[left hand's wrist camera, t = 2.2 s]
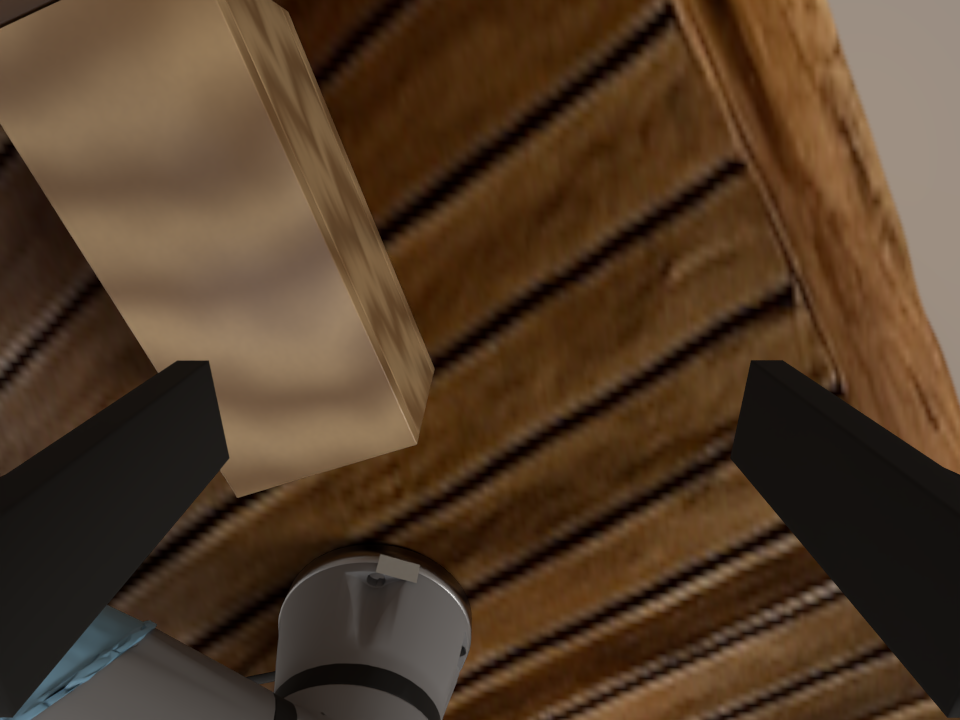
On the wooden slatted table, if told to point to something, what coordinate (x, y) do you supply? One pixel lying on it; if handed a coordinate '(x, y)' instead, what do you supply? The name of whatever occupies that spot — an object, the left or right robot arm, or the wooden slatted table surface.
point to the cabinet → (222, 220)
